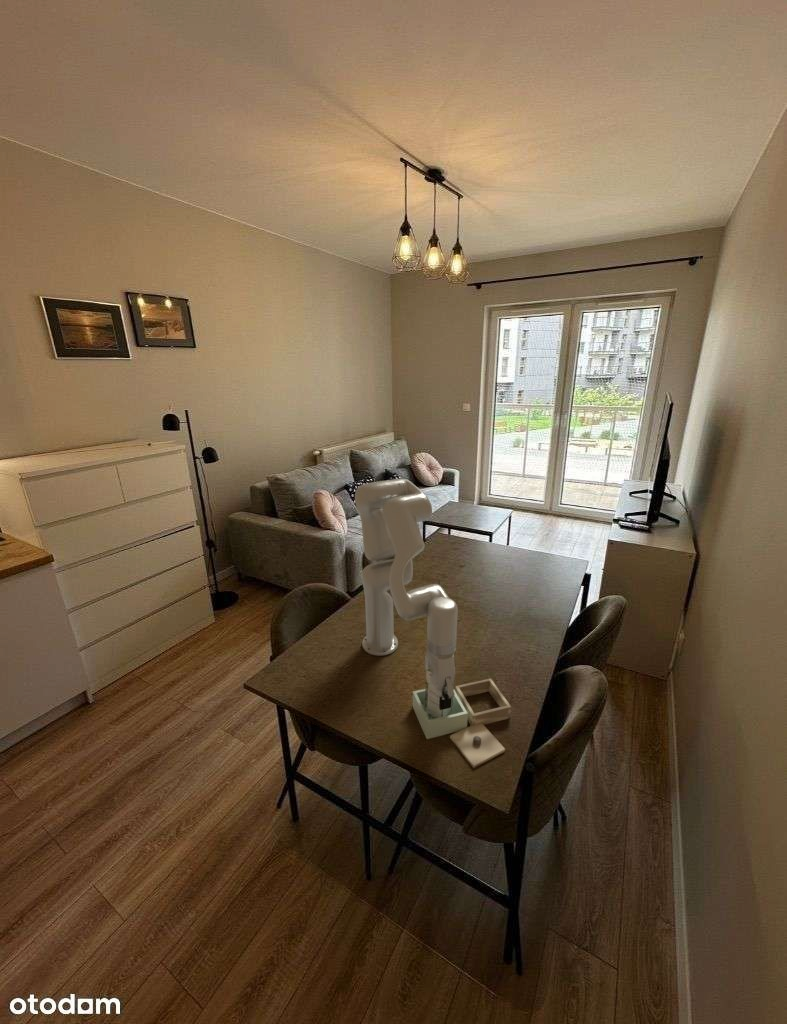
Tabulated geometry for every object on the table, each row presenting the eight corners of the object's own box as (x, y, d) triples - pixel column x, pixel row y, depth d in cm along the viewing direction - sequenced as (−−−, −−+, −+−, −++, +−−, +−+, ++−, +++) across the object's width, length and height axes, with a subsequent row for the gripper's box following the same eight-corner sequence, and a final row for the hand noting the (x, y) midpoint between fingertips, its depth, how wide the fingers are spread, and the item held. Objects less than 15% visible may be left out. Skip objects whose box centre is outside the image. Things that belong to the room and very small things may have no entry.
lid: (449, 737, 110) (450, 732, 110) (479, 723, 115) (480, 718, 114) (473, 768, 102) (474, 762, 101) (504, 751, 106) (505, 746, 106)
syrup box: (435, 699, 120) (437, 658, 115) (453, 709, 116) (455, 667, 112) (423, 711, 116) (425, 669, 111) (441, 722, 112) (443, 679, 107)
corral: (454, 697, 124) (455, 686, 123) (489, 688, 127) (490, 678, 126) (472, 727, 113) (472, 716, 112) (510, 718, 116) (511, 706, 115)
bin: (412, 706, 120) (412, 691, 119) (449, 698, 123) (450, 683, 122) (426, 739, 110) (426, 723, 108) (466, 729, 113) (467, 713, 111)
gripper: (416, 626, 115) (416, 678, 121) (440, 668, 100) (438, 724, 106) (442, 622, 117) (440, 672, 123) (469, 662, 102) (465, 718, 108)
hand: (439, 696), depth 114 cm, fingers closed on syrup box, 7 cm apart
